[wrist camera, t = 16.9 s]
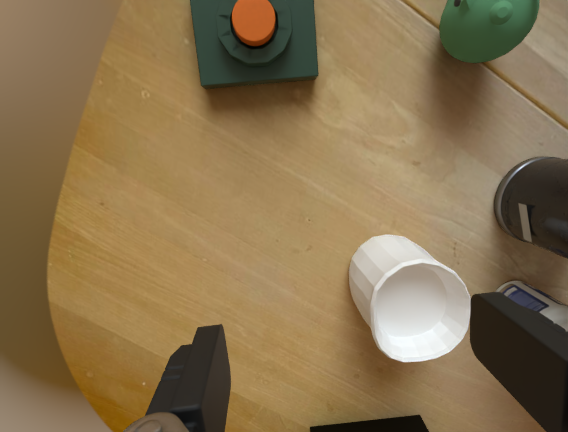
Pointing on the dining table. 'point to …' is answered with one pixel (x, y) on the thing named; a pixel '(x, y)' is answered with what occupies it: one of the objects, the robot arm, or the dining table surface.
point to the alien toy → (485, 27)
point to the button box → (254, 59)
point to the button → (253, 21)
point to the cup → (408, 299)
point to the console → (377, 425)
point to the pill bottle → (536, 301)
